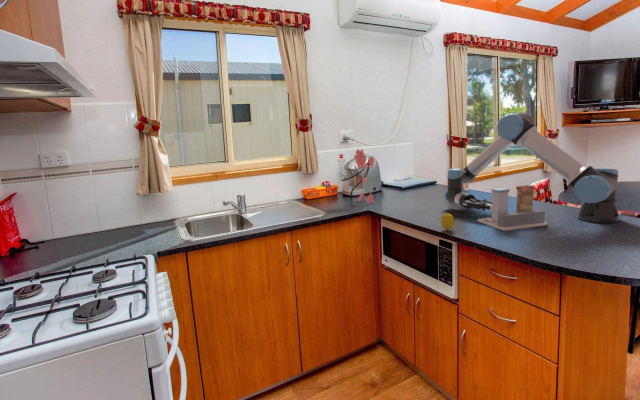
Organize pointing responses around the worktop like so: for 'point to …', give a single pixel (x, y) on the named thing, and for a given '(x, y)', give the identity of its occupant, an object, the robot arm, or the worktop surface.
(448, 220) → the lemon
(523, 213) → the switch base
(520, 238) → the worktop surface
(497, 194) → the grey tall block
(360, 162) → the red flowering branch
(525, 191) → the beige wooden tall block
